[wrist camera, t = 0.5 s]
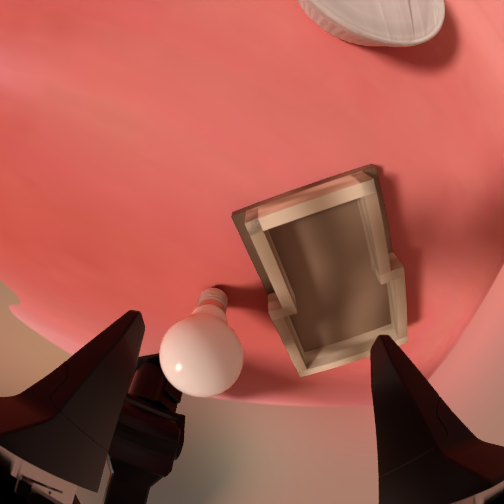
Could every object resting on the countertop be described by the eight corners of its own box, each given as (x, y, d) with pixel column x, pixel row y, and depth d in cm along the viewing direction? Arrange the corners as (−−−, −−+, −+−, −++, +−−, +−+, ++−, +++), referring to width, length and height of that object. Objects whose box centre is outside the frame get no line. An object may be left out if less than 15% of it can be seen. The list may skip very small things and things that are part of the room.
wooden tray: (297, 353, 30) (300, 377, 27) (232, 212, 23) (228, 229, 20) (396, 320, 28) (407, 341, 25) (371, 164, 20) (388, 173, 17)
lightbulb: (258, 281, 26) (256, 380, 16) (233, 327, 29) (223, 419, 19) (193, 256, 25) (157, 348, 15) (175, 306, 28) (144, 394, 18)
